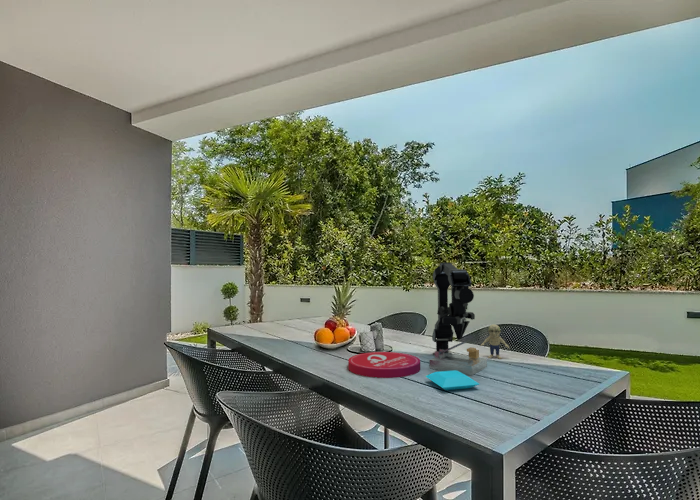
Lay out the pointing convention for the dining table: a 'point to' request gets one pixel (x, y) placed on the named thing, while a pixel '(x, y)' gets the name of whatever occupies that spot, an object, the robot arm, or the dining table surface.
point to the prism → (452, 380)
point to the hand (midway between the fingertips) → (459, 339)
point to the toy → (494, 340)
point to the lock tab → (473, 353)
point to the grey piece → (457, 363)
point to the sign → (384, 364)
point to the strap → (452, 347)
